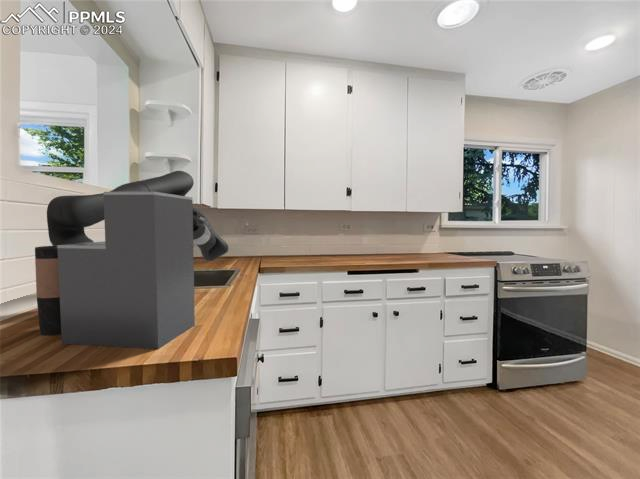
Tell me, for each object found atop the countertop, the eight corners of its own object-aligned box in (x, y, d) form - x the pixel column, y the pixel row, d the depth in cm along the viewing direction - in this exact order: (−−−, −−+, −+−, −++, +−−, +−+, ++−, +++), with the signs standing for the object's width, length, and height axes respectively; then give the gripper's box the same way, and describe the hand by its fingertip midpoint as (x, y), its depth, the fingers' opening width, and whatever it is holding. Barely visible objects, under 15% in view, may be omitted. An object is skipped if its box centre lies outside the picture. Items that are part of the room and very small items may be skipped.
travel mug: (45, 338, 65) (40, 248, 64) (33, 331, 69) (29, 246, 68) (86, 328, 71) (83, 246, 70) (74, 322, 75) (70, 244, 74)
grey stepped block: (61, 343, 62) (54, 192, 60) (114, 321, 76) (110, 197, 74) (158, 349, 60) (154, 191, 58) (194, 325, 74) (192, 197, 72)
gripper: (180, 221, 107) (151, 193, 92) (217, 221, 106) (194, 193, 90) (174, 239, 104) (144, 214, 89) (212, 240, 102) (188, 214, 87)
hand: (169, 204), depth 90 cm, fingers closed on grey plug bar, 3 cm apart
